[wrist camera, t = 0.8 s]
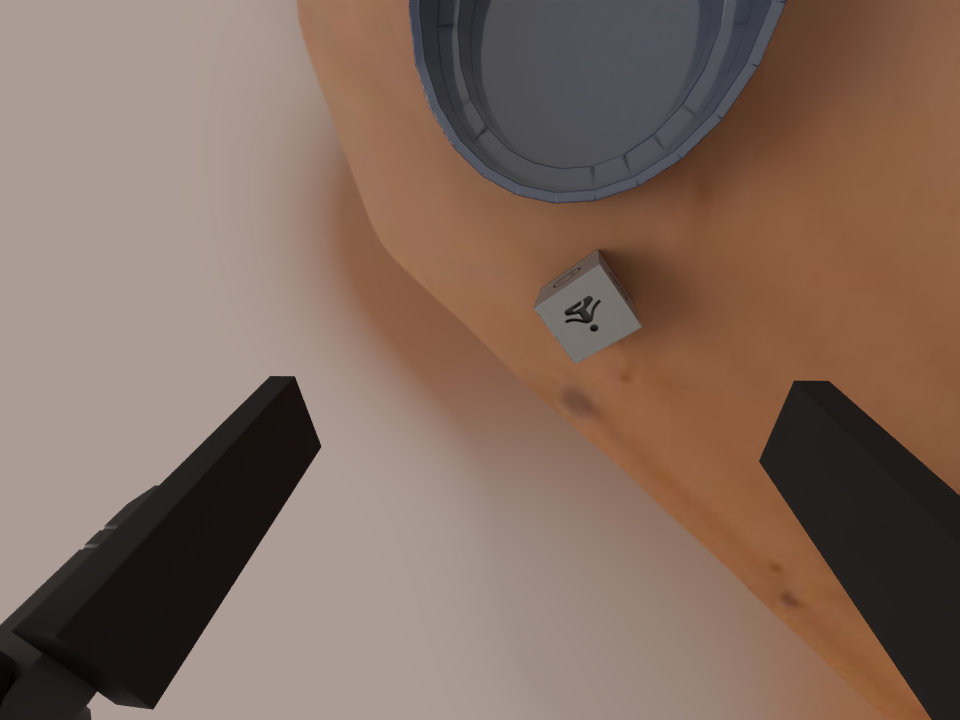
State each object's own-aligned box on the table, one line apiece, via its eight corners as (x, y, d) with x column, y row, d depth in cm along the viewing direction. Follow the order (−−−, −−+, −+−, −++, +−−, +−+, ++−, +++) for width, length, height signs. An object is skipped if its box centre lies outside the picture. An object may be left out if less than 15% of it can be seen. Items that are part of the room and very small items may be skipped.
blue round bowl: (817, -157, 18) (910, -289, 13) (667, 220, 26) (687, 233, 21) (470, -188, 20) (430, -311, 15) (431, 168, 29) (397, 168, 23)
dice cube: (597, 249, 28) (599, 264, 24) (634, 303, 29) (642, 326, 25) (541, 288, 30) (533, 308, 26) (576, 337, 32) (575, 364, 27)
